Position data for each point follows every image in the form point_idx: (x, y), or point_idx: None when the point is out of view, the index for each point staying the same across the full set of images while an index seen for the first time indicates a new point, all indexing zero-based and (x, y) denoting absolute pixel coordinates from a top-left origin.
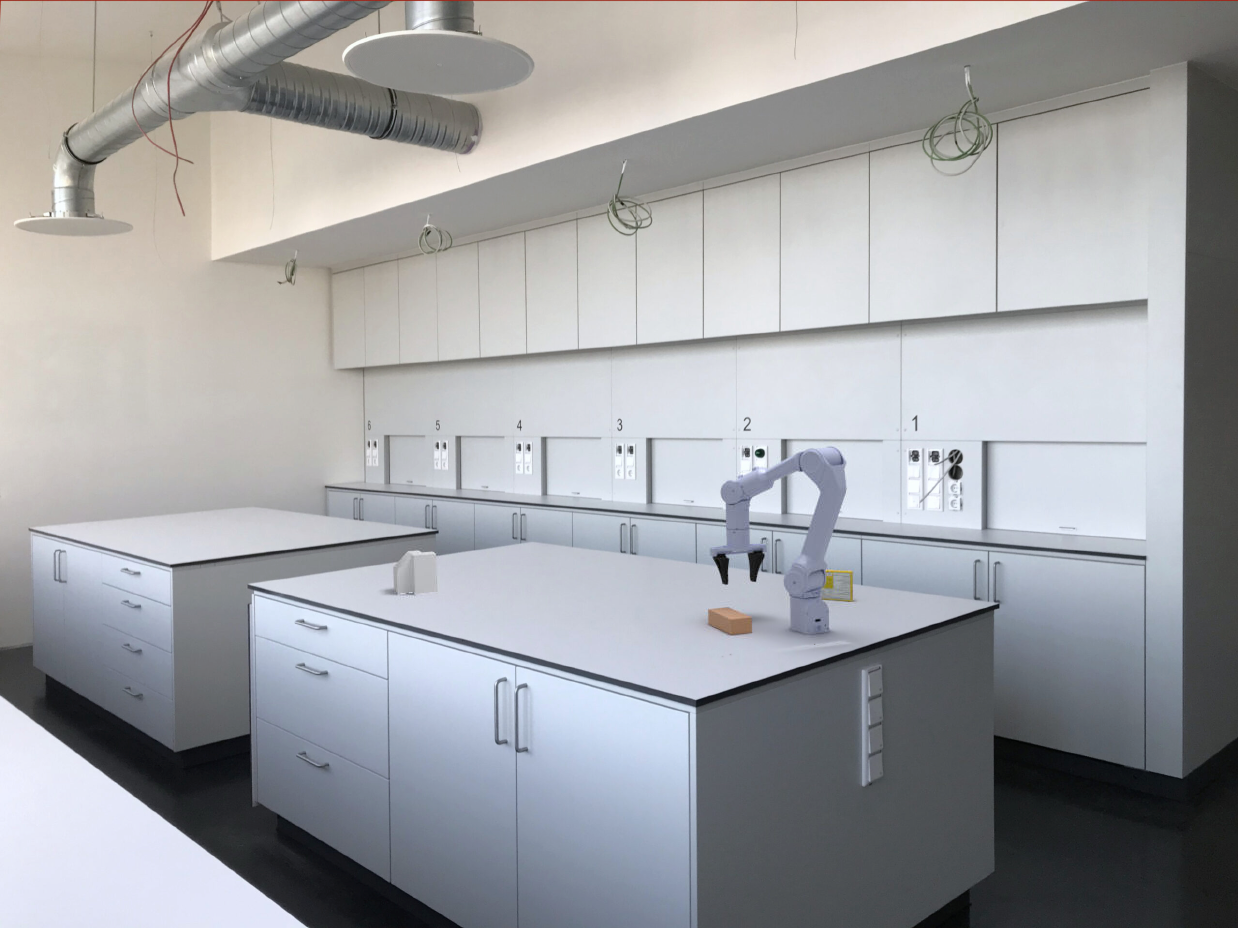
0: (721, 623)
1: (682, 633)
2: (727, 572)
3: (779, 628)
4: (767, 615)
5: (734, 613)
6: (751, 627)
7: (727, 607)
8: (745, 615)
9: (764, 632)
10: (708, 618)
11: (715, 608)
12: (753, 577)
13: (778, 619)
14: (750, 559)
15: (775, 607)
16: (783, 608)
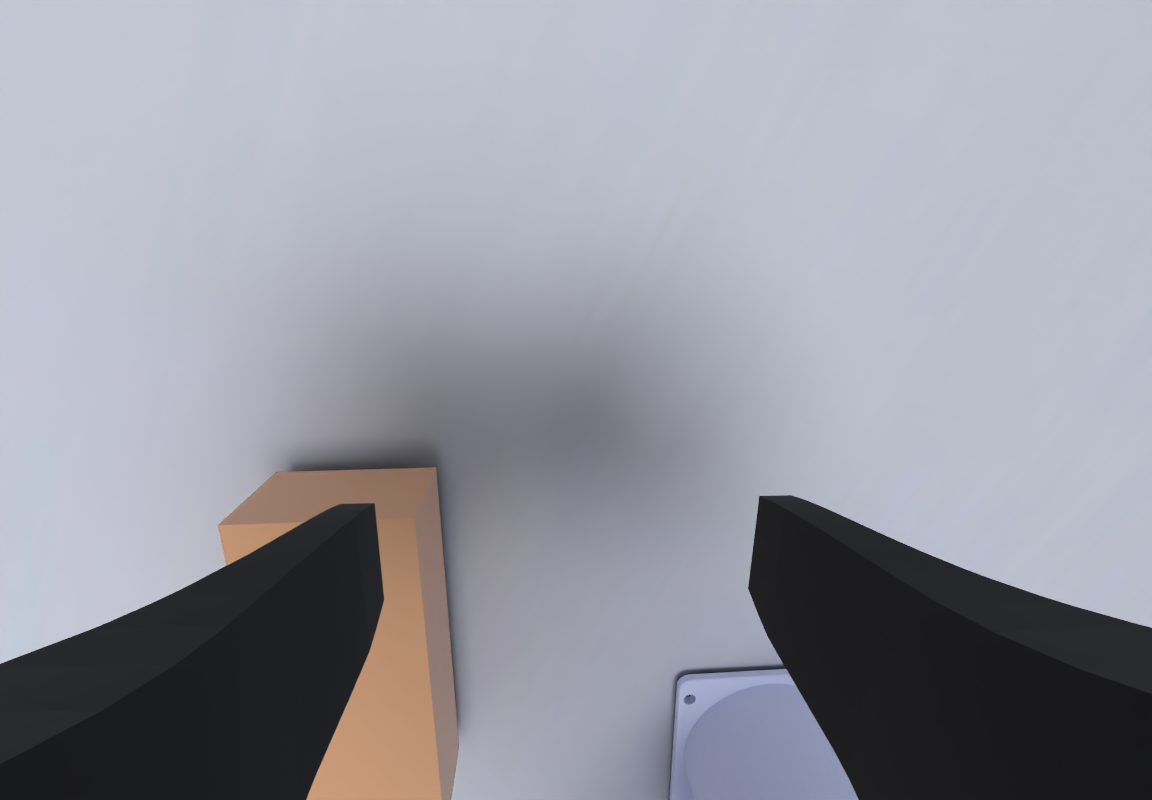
0: None
1: (75, 528)
2: (300, 786)
3: (686, 625)
4: (824, 287)
5: (377, 718)
6: (453, 772)
7: (403, 526)
8: (427, 788)
9: (566, 671)
10: (257, 493)
11: (290, 523)
12: (773, 621)
13: (813, 428)
14: (1009, 758)
15: (1047, 43)
16: (1068, 115)
